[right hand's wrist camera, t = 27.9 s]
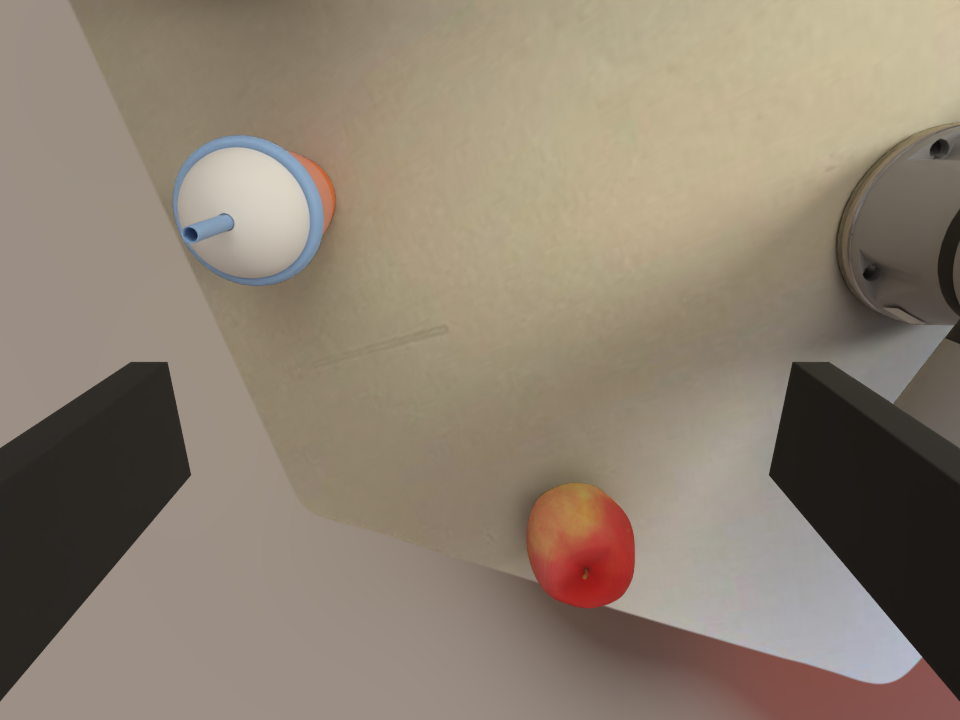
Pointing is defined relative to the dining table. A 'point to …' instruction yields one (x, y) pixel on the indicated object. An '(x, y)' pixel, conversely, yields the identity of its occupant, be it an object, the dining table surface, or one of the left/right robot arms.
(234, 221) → the cup with straw
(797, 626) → the dining table surface
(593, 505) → the apple
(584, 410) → the dining table surface
